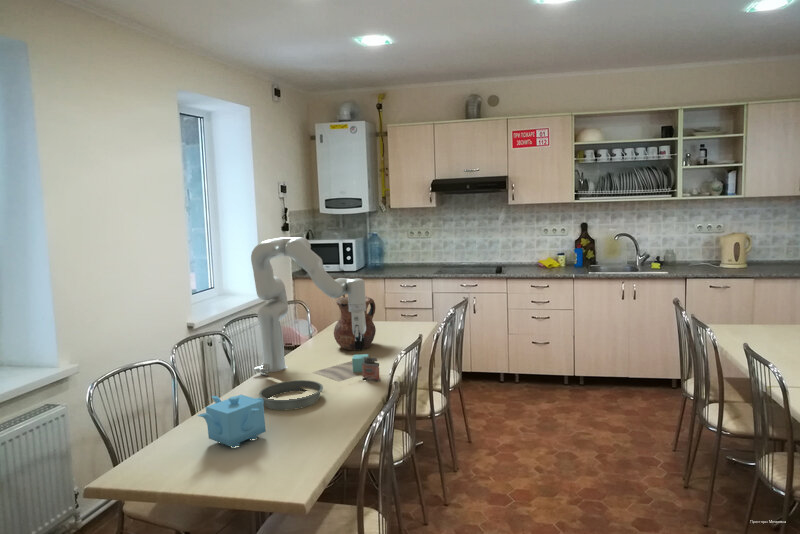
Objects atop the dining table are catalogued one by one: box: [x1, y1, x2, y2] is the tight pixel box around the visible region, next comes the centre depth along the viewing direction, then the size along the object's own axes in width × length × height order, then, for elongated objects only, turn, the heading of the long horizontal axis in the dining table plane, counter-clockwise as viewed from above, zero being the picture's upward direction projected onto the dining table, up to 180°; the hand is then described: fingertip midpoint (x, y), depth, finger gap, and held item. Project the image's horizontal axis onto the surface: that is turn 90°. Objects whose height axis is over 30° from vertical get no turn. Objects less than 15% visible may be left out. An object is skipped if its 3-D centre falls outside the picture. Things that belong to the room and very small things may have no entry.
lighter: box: [362, 356, 381, 383], centre depth 257 cm, size 8×3×10 cm, turn 62°
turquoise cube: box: [351, 353, 370, 372], centre depth 268 cm, size 6×6×6 cm
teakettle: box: [197, 394, 267, 448], centre depth 201 cm, size 19×19×15 cm
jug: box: [333, 296, 377, 351], centre depth 312 cm, size 22×21×25 cm
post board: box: [312, 360, 363, 382], centre depth 268 cm, size 22×20×6 cm
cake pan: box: [258, 379, 324, 411], centre depth 238 cm, size 25×25×4 cm
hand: (359, 347), depth 267 cm, fingers open, 4 cm apart
